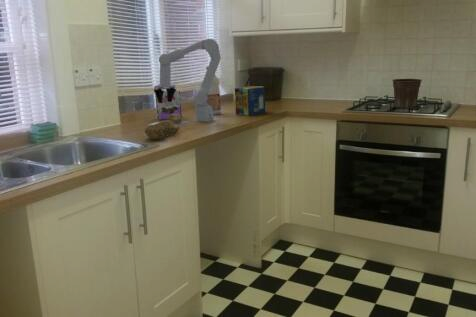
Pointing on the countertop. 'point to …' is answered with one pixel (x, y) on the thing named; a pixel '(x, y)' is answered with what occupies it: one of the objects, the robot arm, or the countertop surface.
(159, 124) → the brown rounded lump
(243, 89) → the protein box
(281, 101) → the countertop surface
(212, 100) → the fruit juice
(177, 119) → the oak block
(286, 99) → the countertop surface
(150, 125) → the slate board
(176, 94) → the candy box
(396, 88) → the plant pot
